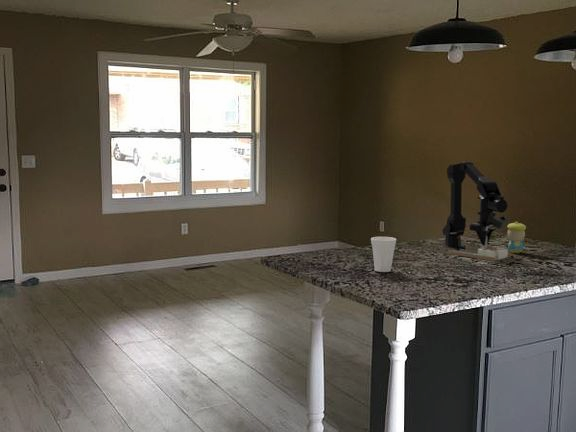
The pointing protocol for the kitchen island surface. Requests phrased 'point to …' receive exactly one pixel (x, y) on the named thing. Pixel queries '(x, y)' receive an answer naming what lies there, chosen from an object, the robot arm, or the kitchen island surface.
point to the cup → (383, 252)
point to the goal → (498, 253)
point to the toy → (516, 237)
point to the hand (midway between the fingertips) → (485, 245)
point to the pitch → (472, 253)
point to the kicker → (483, 248)
